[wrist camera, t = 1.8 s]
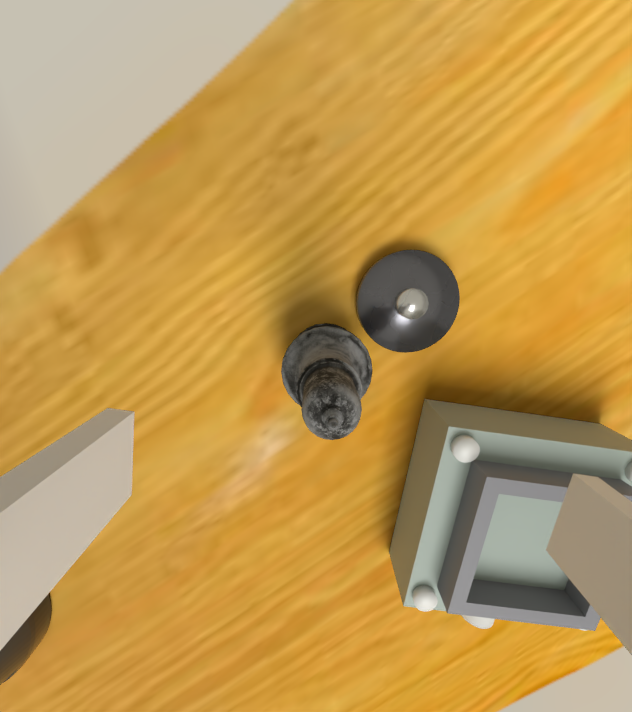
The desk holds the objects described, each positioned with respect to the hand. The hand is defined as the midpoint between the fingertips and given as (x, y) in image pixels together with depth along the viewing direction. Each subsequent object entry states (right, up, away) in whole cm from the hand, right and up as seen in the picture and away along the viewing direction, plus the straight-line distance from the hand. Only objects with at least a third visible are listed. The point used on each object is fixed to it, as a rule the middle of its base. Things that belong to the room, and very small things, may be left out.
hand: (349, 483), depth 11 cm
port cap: (+5, +8, +15) cm, 17 cm away
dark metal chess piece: (0, +4, +16) cm, 16 cm away
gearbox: (+13, -8, +19) cm, 24 cm away
